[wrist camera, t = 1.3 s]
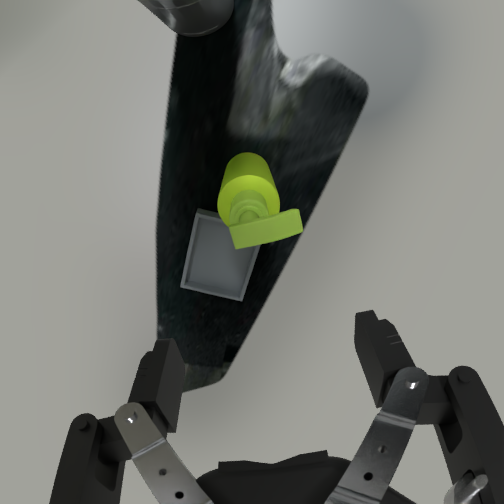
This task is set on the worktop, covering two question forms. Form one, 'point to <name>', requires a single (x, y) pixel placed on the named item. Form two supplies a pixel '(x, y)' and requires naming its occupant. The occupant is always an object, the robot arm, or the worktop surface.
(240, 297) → the tray
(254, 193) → the soap dispenser
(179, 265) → the worktop surface
